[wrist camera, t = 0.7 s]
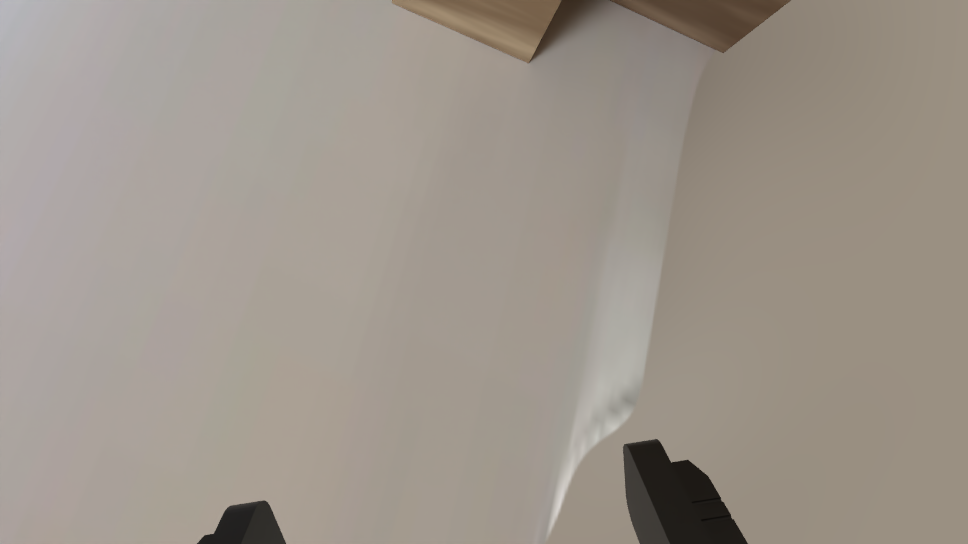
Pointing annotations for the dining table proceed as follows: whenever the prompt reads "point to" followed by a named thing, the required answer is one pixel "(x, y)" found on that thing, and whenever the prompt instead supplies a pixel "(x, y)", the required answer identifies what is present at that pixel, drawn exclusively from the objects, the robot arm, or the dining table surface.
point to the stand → (707, 17)
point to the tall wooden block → (492, 21)
